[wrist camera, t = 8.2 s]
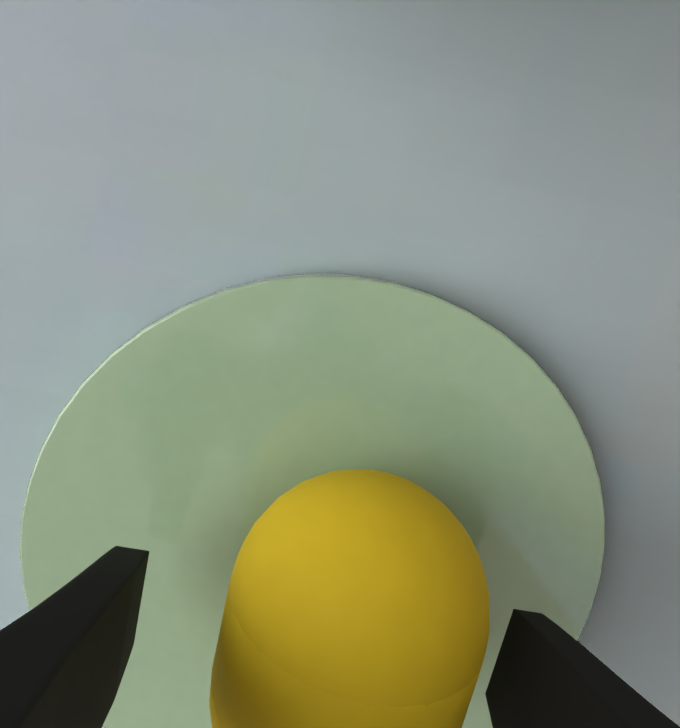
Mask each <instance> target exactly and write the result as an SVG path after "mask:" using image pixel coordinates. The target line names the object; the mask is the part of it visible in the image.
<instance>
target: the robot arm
mask: <svg viewBox="0 0 680 728" xmlns="http://www.w3.org/2000/svg"><path fill="white" fill-rule="evenodd" d="M148 557H149V551H146V550H140V549H134V548H128V547H121V546H115V547H113V548H112V549H110V550H109V551H107V552H106V553H105V554H104V555H102V556H101V557H100V558H99V559H97V560H96V561H95V562H94V563H92V564H91V565H90V566H89V567H87V568H86V569H85V570H84V571H82V572H81V573H80V574H79V575H77V576H76V577H75V578H73V579H72V580H71V581H70V582H68V583H67V584H66V585H64V586H63V587H62V588H60V589H59V590H58V591H56V592H55V593H53V594H52V595H51V596H49V597H48V598H47V599H45V600H44V601H43V602H41V603H40V604H38V605H37V606H36V607H34V608H33V609H32V610H30V611H29V612H27V613H26V614H24V615H23V616H22V617H20V618H19V619H17V620H15V621H14V622H12V623H11V624H9V625H8V626H6V627H5V628H3V629H2V630H0V728H102V726H103V724H104V722H105V720H106V717H107V715H108V713H109V711H110V709H111V707H112V704H113V702H114V700H115V697H116V694H117V692H118V689H119V686H120V683H121V680H122V677H123V675H124V672H125V669H126V666H127V663H128V660H129V657H130V654H131V651H132V648H133V645H134V640H135V634H136V628H137V622H138V616H139V610H140V604H141V598H142V593H143V587H144V581H145V575H146V569H147V563H148ZM485 695H486V700H487V704H488V709H489V713H490V718H491V722H492V726H493V728H680V727H679V726H678V725H677V724H675V723H674V722H673V721H672V720H670V719H669V718H668V717H666V716H665V715H664V714H663V713H662V712H660V711H659V710H658V709H657V708H655V707H654V706H653V705H652V704H651V703H649V702H648V701H647V700H646V699H644V698H643V697H642V696H641V695H640V694H639V693H637V692H636V691H635V690H634V689H633V688H631V687H630V686H629V685H628V684H627V683H626V682H624V681H623V680H622V679H621V678H620V677H618V676H617V675H616V674H615V673H614V672H613V671H611V670H610V669H609V668H608V667H607V666H606V665H604V664H603V663H602V662H601V661H600V660H599V659H598V658H596V657H595V656H594V655H593V654H592V653H591V652H589V651H588V650H587V649H586V648H585V647H584V646H582V645H581V644H580V643H579V642H578V641H577V640H575V639H574V638H573V637H572V636H571V635H569V634H568V633H567V632H566V631H565V630H563V629H562V628H561V627H560V626H558V625H557V624H556V623H554V622H553V621H552V620H551V619H549V618H548V617H546V616H545V615H544V614H542V613H537V612H530V611H524V610H518V609H513V612H512V615H511V618H510V621H509V624H508V627H507V630H506V633H505V636H504V639H503V642H502V645H501V648H500V651H499V654H498V657H497V660H496V663H495V666H494V669H493V672H492V675H491V678H490V681H489V684H488V687H487V690H486V693H485Z"/></svg>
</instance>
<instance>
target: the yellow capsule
mask: <svg viewBox="0 0 680 728" xmlns="http://www.w3.org/2000/svg"><path fill="white" fill-rule="evenodd" d="M489 633H490V608H489V589H488V585H487V581H486V577H485V573H484V569H483V566H482V563H481V560H480V557H479V554H478V552H477V550H476V548H475V546H474V544H473V542H472V540H471V538H470V536H469V535H468V533H467V531H466V530H465V528H464V527H463V525H462V524H461V523H460V522H459V521H458V519H457V518H456V517H455V516H454V515H453V513H452V512H451V511H450V510H449V509H448V508H447V507H446V506H445V505H444V504H443V503H442V502H441V501H440V500H439V499H437V498H436V497H435V496H433V495H432V494H430V493H429V492H428V491H426V490H425V489H423V488H422V487H420V486H419V485H417V484H415V483H413V482H411V481H409V480H407V479H405V478H402V477H400V476H397V475H394V474H391V473H387V472H383V471H377V470H370V469H352V470H338V471H332V472H328V473H325V474H322V475H319V476H317V477H314V478H311V479H308V480H305V481H303V482H302V483H300V484H298V485H297V486H295V487H293V488H292V489H290V490H289V491H287V492H286V493H284V494H283V495H281V496H280V497H278V498H277V499H276V501H275V502H274V503H273V504H272V505H271V506H270V507H269V508H268V509H267V510H266V511H265V512H264V513H263V514H262V516H261V517H260V518H259V519H258V520H257V521H256V522H255V523H254V525H253V527H252V528H251V530H250V532H249V534H248V535H247V537H246V539H245V540H244V542H243V544H242V547H241V549H240V551H239V553H238V556H237V559H236V562H235V565H234V568H233V571H232V574H231V579H230V583H229V588H228V593H227V597H226V602H225V607H224V612H223V617H222V622H221V627H220V632H219V636H218V641H217V646H216V651H215V656H214V661H213V666H212V673H211V686H210V697H209V707H210V715H211V724H212V728H462V725H463V722H464V719H465V716H466V713H467V710H468V707H469V704H470V701H471V698H472V695H473V692H474V689H475V686H476V683H477V680H478V677H479V674H480V671H481V668H482V664H483V661H484V656H485V653H486V648H487V643H488V638H489Z"/></svg>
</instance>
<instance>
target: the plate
mask: <svg viewBox="0 0 680 728" xmlns="http://www.w3.org/2000/svg"><path fill="white" fill-rule="evenodd" d="M352 469H370V470H377V471H383V472H387V473H391V474H394V475H397V476H400V477H402V478H405V479H407V480H409V481H411V482H413V483H415V484H417V485H419V486H420V487H422V488H423V489H425V490H426V491H428V492H429V493H430V494H432V495H433V496H435V497H436V498H437V499H439V500H440V501H441V502H442V503H443V504H444V505H445V506H446V507H447V508H448V509H449V510H450V511H451V512H452V513H453V515H454V516H455V517H456V518H457V519H458V521H459V522H460V523H461V524H462V525H463V527H464V528H465V530H466V531H467V533H468V535H469V536H470V538H471V540H472V542H473V544H474V546H475V548H476V550H477V552H478V554H479V557H480V560H481V563H482V566H483V569H484V573H485V577H486V581H487V585H488V589H489V608H490V633H489V638H488V643H487V648H486V653H485V656H484V661H483V664H482V668H481V671H480V674H479V677H478V680H477V683H476V686H475V689H474V692H473V695H472V698H471V701H470V704H469V707H468V710H467V713H466V716H465V719H464V722H463V725H462V728H493V726H492V722H491V718H490V713H489V709H488V704H487V700H486V695H485V693H486V690H487V687H488V684H489V681H490V678H491V675H492V672H493V669H494V666H495V663H496V660H497V657H498V654H499V651H500V648H501V645H502V642H503V639H504V636H505V633H506V630H507V627H508V624H509V621H510V618H511V615H512V612H513V609H518V610H524V611H530V612H537V613H542V614H544V615H545V616H546V617H548V618H549V619H551V620H552V621H553V622H554V623H556V624H557V625H558V626H560V627H561V628H562V629H563V630H565V631H566V632H567V633H568V634H569V635H571V636H572V637H573V638H574V639H575V640H577V641H578V639H579V637H580V635H581V632H582V630H583V628H584V626H585V623H586V621H587V619H588V617H589V614H590V612H591V608H592V605H593V602H594V598H595V595H596V591H597V588H598V585H599V581H600V575H601V568H602V562H603V555H604V547H605V513H604V505H603V498H602V490H601V483H600V479H599V475H598V472H597V468H596V465H595V461H594V458H593V454H592V451H591V448H590V445H589V443H588V441H587V439H586V437H585V434H584V432H583V430H582V428H581V426H580V423H579V421H578V419H577V417H576V415H575V413H574V412H573V410H572V409H571V407H570V406H569V404H568V403H567V401H566V399H565V398H564V396H563V395H562V393H561V392H560V390H559V389H558V387H557V386H556V384H555V383H554V382H553V381H552V380H551V379H550V378H549V376H548V375H547V374H546V373H545V372H544V371H543V370H542V368H541V367H540V366H539V365H538V364H537V363H536V362H535V360H534V359H533V358H532V357H531V356H529V355H528V354H527V353H526V352H525V351H524V350H522V349H521V348H520V347H519V346H518V345H517V344H515V343H514V342H513V341H512V340H511V339H510V338H508V337H507V336H506V335H505V334H504V333H502V332H501V331H499V330H498V329H496V328H494V327H493V326H491V325H490V324H488V323H487V322H485V321H483V320H482V319H480V318H479V317H477V316H475V315H474V314H472V313H471V312H469V311H467V310H465V309H463V308H461V307H458V306H456V305H454V304H452V303H450V302H447V301H445V300H443V299H441V298H439V297H436V296H434V295H432V294H430V293H427V292H425V291H422V290H418V289H415V288H412V287H408V286H405V285H401V284H398V283H395V282H391V281H388V280H382V279H375V278H369V277H363V276H356V275H350V274H314V273H306V274H297V275H288V276H279V277H270V278H264V279H260V280H256V281H252V282H248V283H244V284H240V285H236V286H232V287H228V288H225V289H222V290H220V291H217V292H215V293H212V294H210V295H207V296H205V297H202V298H199V299H197V300H194V301H192V302H189V303H187V304H186V305H184V306H182V307H180V308H178V309H177V310H175V311H173V312H171V313H169V314H168V315H166V316H164V317H162V318H161V319H159V320H157V321H155V322H153V323H152V324H150V325H149V326H147V327H145V328H144V329H143V330H141V331H140V332H139V333H137V334H136V335H135V336H133V337H132V338H131V339H129V340H128V341H127V342H125V343H124V344H123V345H121V346H120V347H119V348H118V349H116V350H115V351H114V352H112V353H111V354H110V355H109V356H108V357H107V358H106V359H105V360H104V361H103V362H102V363H101V364H100V365H99V366H98V367H97V368H96V369H95V370H94V371H93V372H92V373H91V374H90V375H89V376H88V377H87V378H86V379H85V380H84V381H83V382H82V384H81V385H80V386H79V388H78V389H77V390H76V392H75V393H74V395H73V396H72V397H71V399H70V400H69V401H68V403H67V404H66V405H65V407H64V408H63V409H62V411H61V412H60V413H59V415H58V417H57V419H56V421H55V423H54V424H53V426H52V428H51V430H50V432H49V434H48V436H47V438H46V439H45V441H44V443H43V445H42V447H41V449H40V452H39V455H38V458H37V460H36V463H35V466H34V469H33V472H32V474H31V477H30V480H29V483H28V488H27V493H26V498H25V503H24V509H23V514H22V519H21V542H20V561H21V570H22V578H23V587H24V593H25V597H26V601H27V604H28V608H29V611H30V610H32V609H33V608H34V607H36V606H37V605H38V604H40V603H41V602H43V601H44V600H45V599H47V598H48V597H49V596H51V595H52V594H53V593H55V592H56V591H58V590H59V589H60V588H62V587H63V586H64V585H66V584H67V583H68V582H70V581H71V580H72V579H73V578H75V577H76V576H77V575H79V574H80V573H81V572H82V571H84V570H85V569H86V568H87V567H89V566H90V565H91V564H92V563H94V562H95V561H96V560H97V559H99V558H100V557H101V556H102V555H104V554H105V553H106V552H107V551H109V550H110V549H112V548H113V547H115V546H121V547H128V548H134V549H140V550H146V551H149V557H148V563H147V569H146V575H145V581H144V587H143V593H142V598H141V604H140V610H139V616H138V622H137V628H136V634H135V640H134V645H133V648H132V651H131V654H130V657H129V660H128V663H127V666H126V669H125V672H124V675H123V677H122V680H121V683H120V686H119V689H118V692H117V694H116V697H115V700H114V702H113V704H112V707H111V709H110V711H109V713H108V715H107V717H106V720H105V722H104V724H103V727H104V728H212V724H211V715H210V707H209V697H210V686H211V673H212V666H213V661H214V656H215V651H216V646H217V641H218V636H219V632H220V627H221V622H222V617H223V612H224V607H225V602H226V597H227V593H228V588H229V583H230V579H231V574H232V571H233V568H234V565H235V562H236V559H237V556H238V553H239V551H240V549H241V547H242V544H243V542H244V540H245V539H246V537H247V535H248V534H249V532H250V530H251V528H252V527H253V525H254V523H255V522H256V521H257V520H258V519H259V518H260V517H261V516H262V514H263V513H264V512H265V511H266V510H267V509H268V508H269V507H270V506H271V505H272V504H273V503H274V502H275V501H276V499H277V498H278V497H280V496H281V495H283V494H284V493H286V492H287V491H289V490H290V489H292V488H293V487H295V486H297V485H298V484H300V483H302V482H303V481H305V480H308V479H311V478H314V477H317V476H319V475H322V474H325V473H328V472H332V471H338V470H352Z"/></svg>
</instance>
